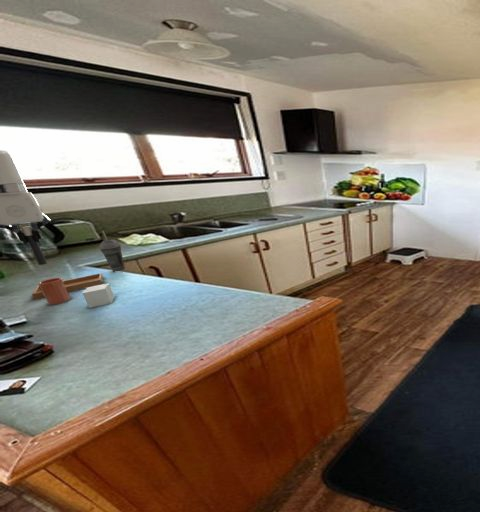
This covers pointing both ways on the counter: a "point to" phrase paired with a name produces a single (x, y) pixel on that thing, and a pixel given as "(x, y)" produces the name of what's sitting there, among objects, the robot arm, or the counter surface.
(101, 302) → the white cube
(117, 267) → the beverage cup
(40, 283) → the cup
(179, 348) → the counter surface
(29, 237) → the marker
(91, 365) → the counter surface
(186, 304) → the counter surface
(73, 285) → the pen tray
